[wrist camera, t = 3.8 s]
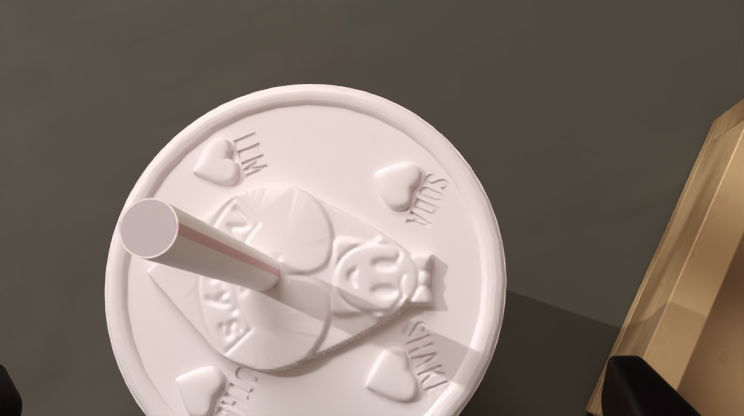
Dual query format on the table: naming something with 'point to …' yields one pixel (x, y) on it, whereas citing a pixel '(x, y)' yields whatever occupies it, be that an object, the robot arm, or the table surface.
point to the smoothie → (306, 264)
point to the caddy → (697, 284)
